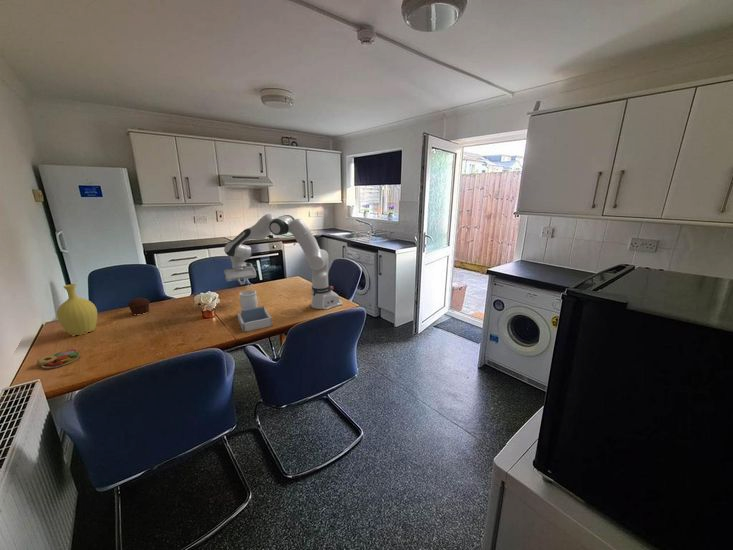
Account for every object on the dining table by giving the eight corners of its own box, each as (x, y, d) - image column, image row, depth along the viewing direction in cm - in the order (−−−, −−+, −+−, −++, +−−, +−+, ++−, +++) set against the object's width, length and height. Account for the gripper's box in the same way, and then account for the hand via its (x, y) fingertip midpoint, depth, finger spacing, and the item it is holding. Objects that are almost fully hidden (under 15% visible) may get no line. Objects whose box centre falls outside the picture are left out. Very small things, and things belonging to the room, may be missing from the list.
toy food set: (34, 366, 135) (32, 360, 134) (70, 352, 146) (69, 346, 146) (51, 372, 130) (48, 366, 129) (87, 357, 142) (85, 351, 141)
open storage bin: (265, 314, 191) (264, 307, 189) (272, 325, 175) (271, 318, 174) (238, 320, 183) (237, 312, 181) (243, 332, 167) (242, 324, 166)
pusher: (264, 317, 185) (263, 306, 183) (265, 319, 183) (264, 307, 181) (242, 322, 178) (240, 310, 176) (243, 323, 177) (241, 311, 175)
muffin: (130, 317, 186) (126, 303, 183) (128, 312, 194) (125, 298, 191) (152, 313, 193) (149, 298, 191) (150, 308, 201) (147, 294, 199)
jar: (252, 318, 186) (250, 295, 182) (238, 316, 188) (235, 294, 184) (261, 311, 196) (259, 290, 192) (248, 310, 198) (245, 289, 194)
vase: (71, 328, 171) (57, 282, 164) (106, 323, 177) (94, 279, 170) (56, 340, 157) (41, 291, 149) (94, 335, 163) (81, 287, 155)
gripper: (223, 267, 202) (226, 284, 197) (254, 263, 212) (258, 279, 207) (223, 271, 207) (226, 288, 202) (253, 268, 217) (257, 284, 212)
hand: (243, 284), depth 204 cm, fingers closed
